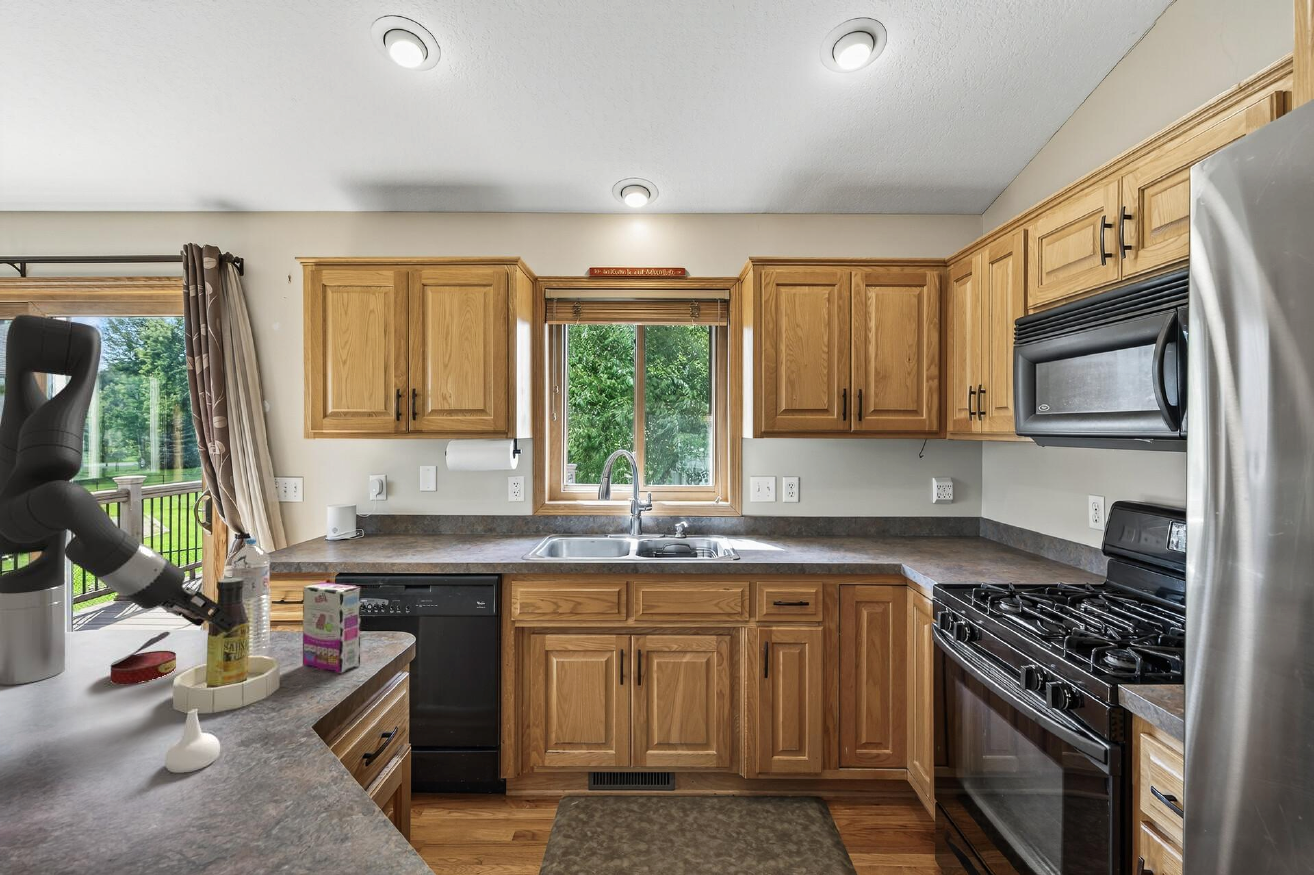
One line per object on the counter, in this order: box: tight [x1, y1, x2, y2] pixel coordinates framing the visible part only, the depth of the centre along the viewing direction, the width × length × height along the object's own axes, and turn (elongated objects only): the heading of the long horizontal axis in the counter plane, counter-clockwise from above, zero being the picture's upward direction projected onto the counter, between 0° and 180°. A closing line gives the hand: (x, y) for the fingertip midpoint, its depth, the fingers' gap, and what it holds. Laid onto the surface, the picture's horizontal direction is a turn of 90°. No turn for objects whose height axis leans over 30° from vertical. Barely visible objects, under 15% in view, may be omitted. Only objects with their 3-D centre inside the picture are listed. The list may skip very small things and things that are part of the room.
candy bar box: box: [302, 581, 362, 674], centre depth 124 cm, size 11×5×16 cm, turn 68°
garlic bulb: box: [164, 709, 221, 774], centre depth 88 cm, size 6×6×8 cm
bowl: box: [172, 655, 280, 714], centre depth 110 cm, size 16×16×4 cm
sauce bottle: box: [206, 577, 250, 688], centre depth 110 cm, size 7×6×20 cm
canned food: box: [109, 631, 177, 685], centre depth 119 cm, size 11×10×10 cm
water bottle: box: [231, 538, 271, 656], centre depth 128 cm, size 7×7×25 cm
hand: (217, 624), depth 109 cm, fingers open, 8 cm apart
